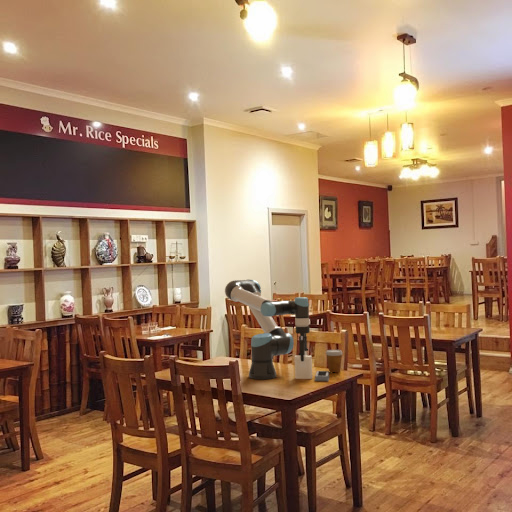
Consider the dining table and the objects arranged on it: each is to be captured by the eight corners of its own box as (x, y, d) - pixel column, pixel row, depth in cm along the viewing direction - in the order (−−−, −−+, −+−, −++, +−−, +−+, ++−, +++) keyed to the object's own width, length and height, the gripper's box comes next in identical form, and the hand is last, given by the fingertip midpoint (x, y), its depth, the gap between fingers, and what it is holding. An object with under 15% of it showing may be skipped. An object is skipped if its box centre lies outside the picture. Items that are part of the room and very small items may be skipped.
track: (314, 381, 289) (314, 376, 289) (316, 375, 303) (316, 370, 303) (328, 381, 288) (328, 376, 288) (329, 375, 302) (329, 370, 302)
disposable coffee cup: (342, 370, 317) (341, 349, 317) (343, 373, 307) (342, 352, 307) (325, 370, 318) (325, 349, 318) (326, 373, 308) (325, 352, 308)
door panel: (295, 378, 296) (294, 356, 297) (295, 377, 300) (295, 355, 300) (311, 379, 295) (311, 356, 295) (312, 377, 298) (311, 355, 298)
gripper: (307, 328, 285) (309, 369, 284) (311, 323, 310) (312, 361, 309) (293, 328, 286) (294, 369, 286) (297, 323, 311) (299, 361, 310)
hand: (303, 365), depth 297 cm, fingers open, 13 cm apart
